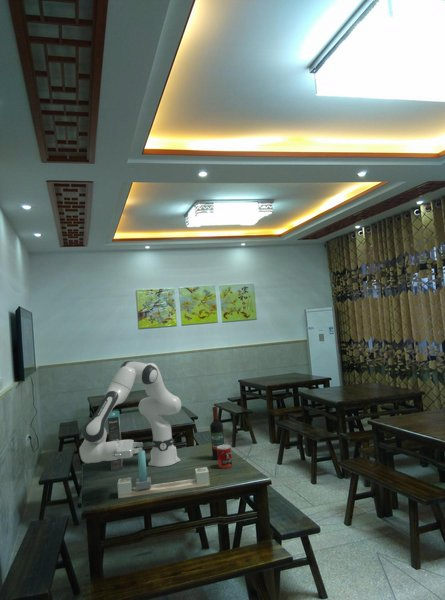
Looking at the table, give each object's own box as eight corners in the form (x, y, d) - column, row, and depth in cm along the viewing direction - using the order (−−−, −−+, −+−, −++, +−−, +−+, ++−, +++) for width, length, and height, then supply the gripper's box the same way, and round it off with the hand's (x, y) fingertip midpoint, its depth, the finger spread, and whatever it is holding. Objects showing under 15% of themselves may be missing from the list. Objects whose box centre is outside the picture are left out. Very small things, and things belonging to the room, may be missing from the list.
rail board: (119, 492, 223) (118, 477, 223) (207, 480, 230) (206, 465, 230) (118, 498, 215) (117, 483, 216) (209, 485, 222) (208, 470, 222)
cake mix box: (122, 469, 261) (118, 416, 263) (111, 470, 260) (107, 418, 262) (122, 459, 283) (119, 410, 285) (112, 460, 282) (109, 411, 283)
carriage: (136, 485, 224) (134, 450, 225) (151, 483, 225) (148, 448, 226) (136, 490, 217) (133, 454, 218) (151, 487, 218) (148, 452, 219)
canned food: (222, 469, 244) (220, 449, 245) (216, 466, 251) (214, 446, 252) (234, 466, 248) (233, 446, 248) (228, 463, 255) (226, 443, 255)
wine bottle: (227, 456, 268) (222, 405, 270) (223, 460, 261) (218, 408, 263) (215, 456, 271) (211, 405, 273) (210, 460, 264) (206, 408, 266)
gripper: (111, 449, 210) (141, 445, 212) (115, 438, 230) (142, 435, 233) (112, 463, 210) (142, 459, 212) (116, 451, 230) (143, 447, 232)
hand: (142, 446), depth 222 cm, fingers open, 8 cm apart
